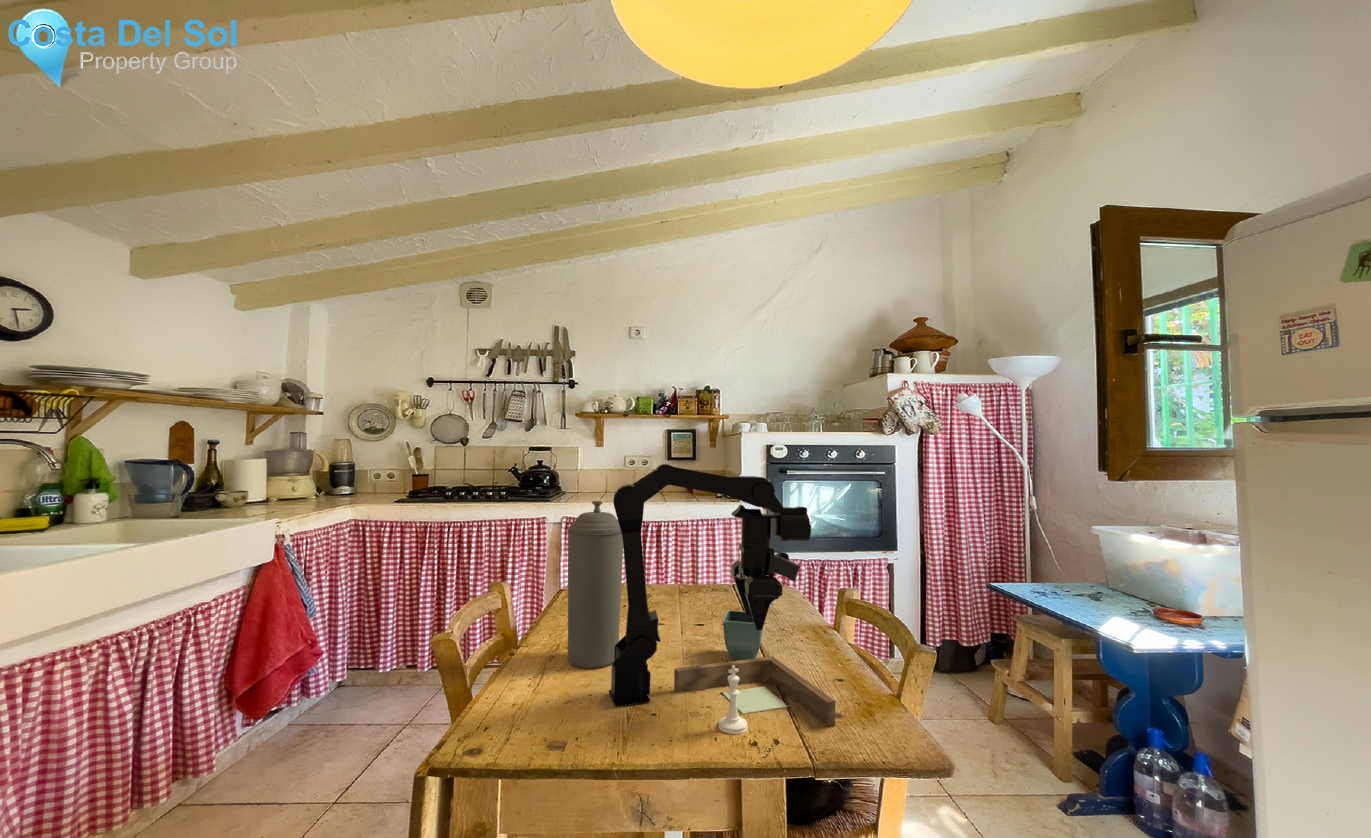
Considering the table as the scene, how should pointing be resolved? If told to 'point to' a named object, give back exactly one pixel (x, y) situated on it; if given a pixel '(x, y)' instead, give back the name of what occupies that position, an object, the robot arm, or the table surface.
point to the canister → (594, 588)
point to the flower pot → (741, 635)
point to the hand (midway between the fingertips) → (754, 622)
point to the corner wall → (756, 672)
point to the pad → (756, 700)
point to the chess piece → (733, 708)
